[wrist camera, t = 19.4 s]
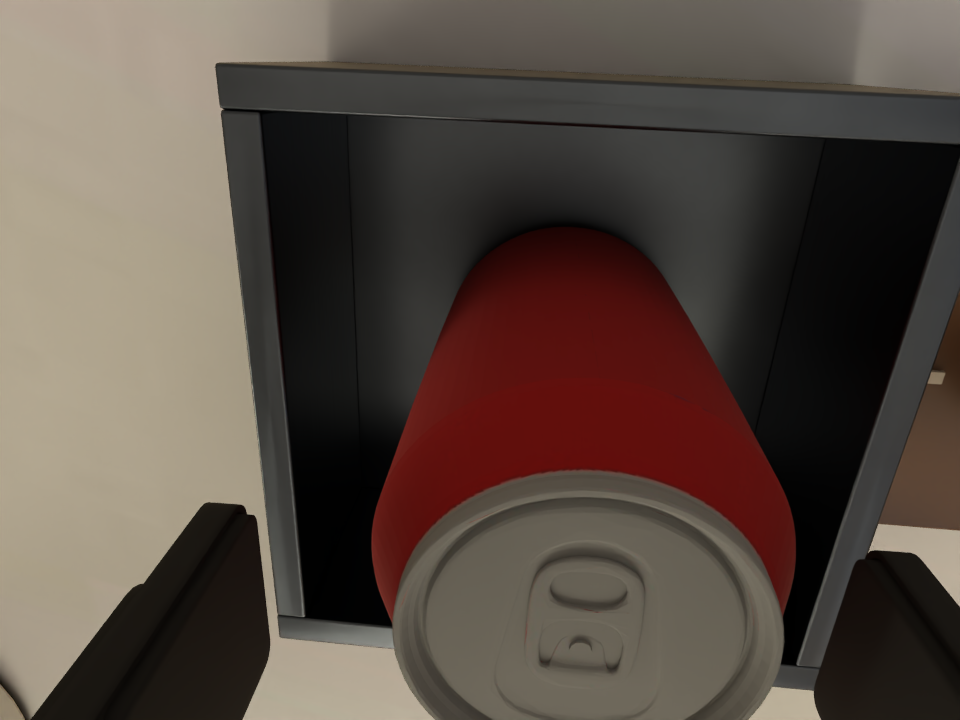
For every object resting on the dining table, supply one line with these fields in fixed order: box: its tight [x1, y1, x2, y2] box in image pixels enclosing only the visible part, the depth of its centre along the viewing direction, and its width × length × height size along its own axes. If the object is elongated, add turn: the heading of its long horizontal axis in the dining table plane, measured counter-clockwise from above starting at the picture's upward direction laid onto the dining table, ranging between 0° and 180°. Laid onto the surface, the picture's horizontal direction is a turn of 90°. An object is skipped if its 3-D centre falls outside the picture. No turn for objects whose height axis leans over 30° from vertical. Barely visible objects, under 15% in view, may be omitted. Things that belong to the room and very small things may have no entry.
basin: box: [215, 61, 960, 691], centre depth 18 cm, size 14×14×7 cm
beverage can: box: [372, 227, 796, 720], centre depth 15 cm, size 7×7×12 cm
